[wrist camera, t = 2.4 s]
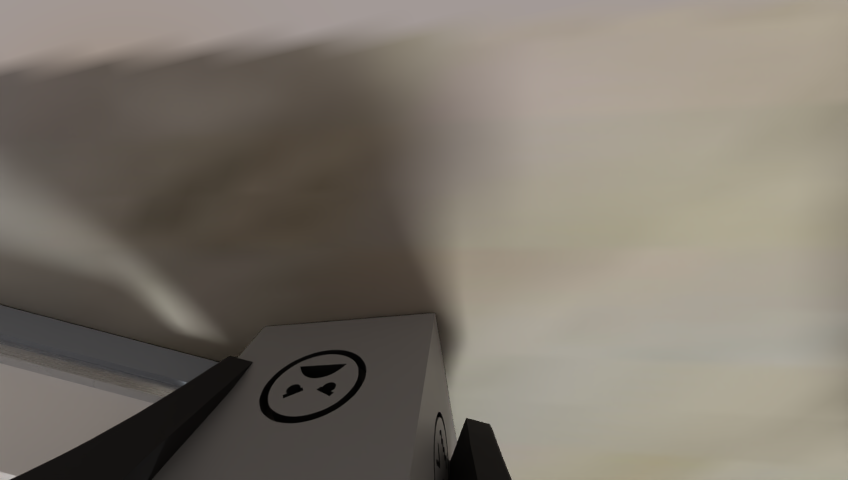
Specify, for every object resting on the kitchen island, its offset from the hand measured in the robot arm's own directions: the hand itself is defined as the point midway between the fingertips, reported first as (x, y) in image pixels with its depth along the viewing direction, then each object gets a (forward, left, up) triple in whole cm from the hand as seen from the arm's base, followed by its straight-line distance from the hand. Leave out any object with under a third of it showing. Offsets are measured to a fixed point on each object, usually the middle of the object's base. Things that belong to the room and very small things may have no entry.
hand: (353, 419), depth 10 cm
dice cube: (-1, 0, -2) cm, 2 cm away
